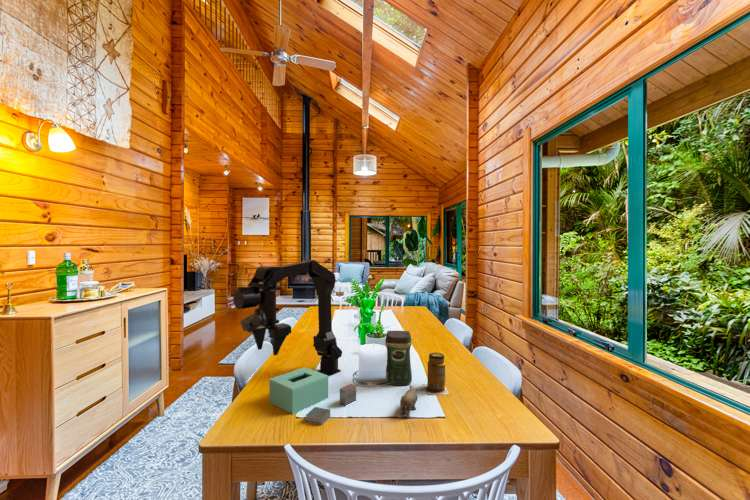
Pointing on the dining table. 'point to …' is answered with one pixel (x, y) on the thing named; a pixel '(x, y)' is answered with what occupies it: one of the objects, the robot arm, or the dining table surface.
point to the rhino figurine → (409, 401)
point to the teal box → (298, 389)
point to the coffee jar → (398, 358)
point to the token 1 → (318, 416)
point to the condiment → (436, 375)
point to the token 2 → (347, 394)
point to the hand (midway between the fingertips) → (267, 352)
